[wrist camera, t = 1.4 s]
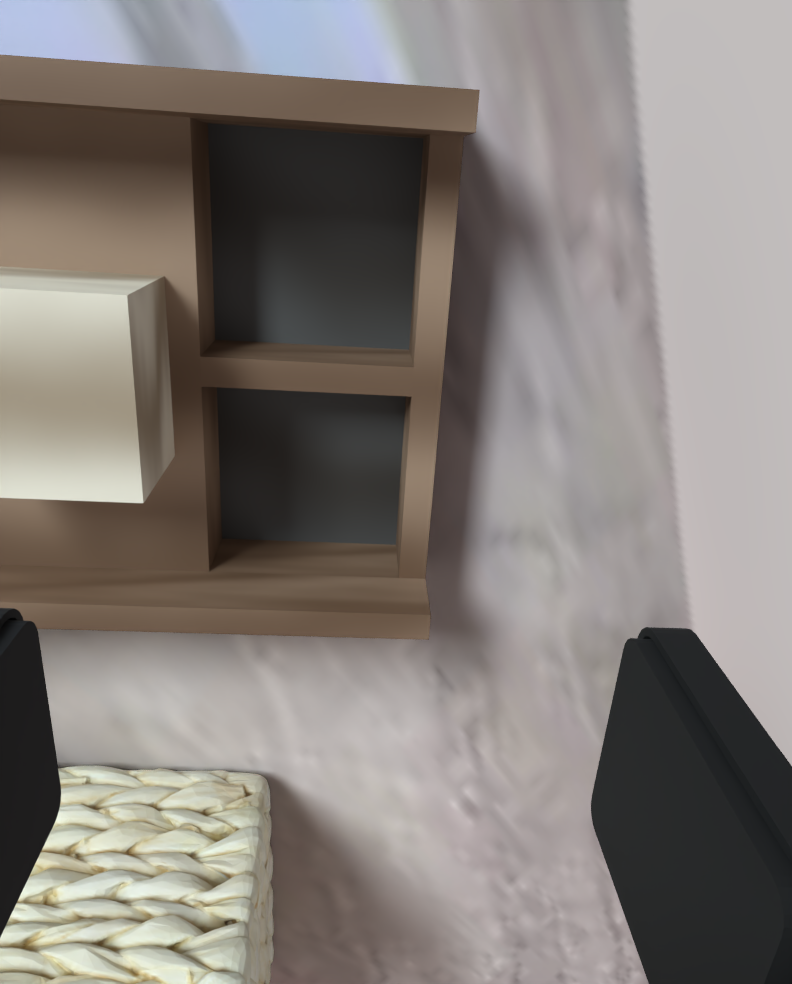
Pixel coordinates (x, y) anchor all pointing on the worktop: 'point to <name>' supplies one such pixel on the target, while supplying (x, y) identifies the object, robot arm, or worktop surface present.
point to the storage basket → (148, 883)
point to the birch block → (83, 385)
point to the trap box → (247, 339)
